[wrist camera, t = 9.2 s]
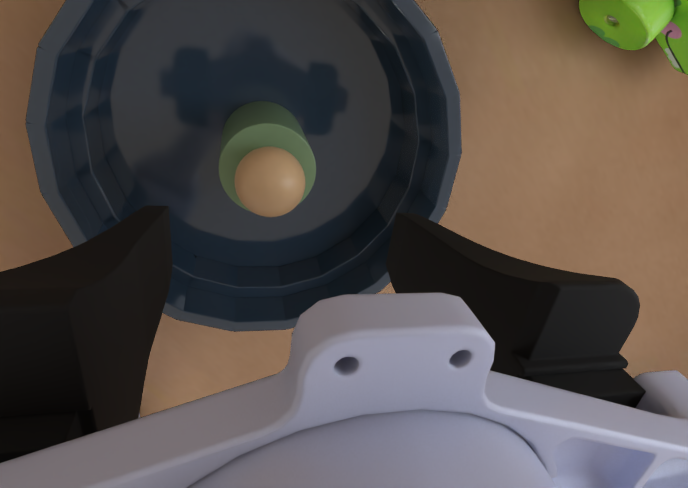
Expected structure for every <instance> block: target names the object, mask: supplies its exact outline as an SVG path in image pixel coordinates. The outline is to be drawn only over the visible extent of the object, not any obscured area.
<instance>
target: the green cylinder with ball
mask: <svg viewBox="0 0 688 488" xmlns="http://www.w3.org/2000/svg"><path fill="white" fill-rule="evenodd" d="M315 176H316V162H315V158H314V155H313V152H312V150H311V147H310V145H309V143H308V141H307V139H306V137H305V135H304V133H303V131H302V128H301V126H300V124H299V123H298V121H297V119H296V118H295V117H294V116H293V114H292V113H291V112H289V111H288V110H287V109H286V108H284V107H282V106H280V105H278V104H276V103H272V102H267V101H256V102H251V103H248V104H245V105H243V106H241V107H239V108H238V109H237V110H235V111H234V112H233V113H232V114H231V115H230V117H229V118H228V119H227V121H226V123H225V126H224V128H223V133H222V140H221V149H220V157H219V177H220V181H221V184H222V186H223V188H224V190H225V192H226V193H227V195H228V196H229V197H230V198H231V199H232V200H233V201H234V202H235V203H236V204H237V205H239V206H240V207H242V208H244V209H246V210H248V211H250V212H253V213H255V214H257V215H260V216H264V217H277V216H281V215H284V214H286V213H288V212H290V211H291V210H293V209H294V208H295V207H296V206H297V205H298V204H300V203H301V202H302V201H303V200H304V199H305V198H306V196H307V195H308V194H309V192H310V191H311V188H312V186H313V184H314V181H315Z"/></svg>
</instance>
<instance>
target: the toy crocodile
mask: <svg viewBox="0 0 688 488" xmlns="http://www.w3.org/2000/svg"><path fill="white" fill-rule="evenodd" d="M579 10H580V13H581V16H582V18H583V19H584V21H585V23H586V24H587V25H588V27H589V28H590V29H591V30H592V31H593V32H594V33H596V34H597V35H598V36H599V37H600V38H601V39H603V40H604V41H606V42H607V43H609V44H611V45H613V46H616V47H619V48H622V49H626V50H638V49H641V48H643V47H645V46H647V45H648V44H649V43H650V42H651V41H652V40H653V39H654V38H656V40H657V41H658V43H659V45H660V46H661V48H662V49H663V51H664V53H665V54H666V56H667V58H668V60H669V61H670V63H671V65H672V66H673V67H674V68H675V69H676V70H677V71H679V72H682V73H685V74H687V75H688V0H579Z"/></svg>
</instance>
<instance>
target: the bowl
mask: <svg viewBox="0 0 688 488" xmlns="http://www.w3.org/2000/svg"><path fill="white" fill-rule="evenodd" d="M256 101H267V102H272V103H276V104H278V105H280V106H282V107H284V108H286V109H287V110H288V111H289V112H291V113H292V114H293V116H294V117H295V118H296V119H297V121H298V123H299V124H300V126H301V128H302V131H303V133H304V135H305V137H306V139H307V141H308V143H309V145H310V147H311V150H312V152H313V155H314V158H315V162H316V176H315V181H314V184H313V186H312V188H311V191H310V192H309V194H308V195H307V196H306V198H305V199H304V200H303V201H302V202H301V203H300V204H298V205H297V206H296V207H295V208H294V209H293V210H291V211H290V212H288V213H286V214H284V215H281V216H277V217H264V216H260V215H257V214H255V213H253V212H250V211H248V210H246V209H244V208H242V207H240V206H239V205H237V204H236V203H235V202H234V201H233V200H232V199H231V198H230V197H229V196H228V195H227V193H226V192H225V190H224V188H223V186H222V184H221V181H220V177H219V157H220V149H221V140H222V133H223V128H224V126H225V123H226V121H227V119H228V118H229V117H230V115H231V114H232V113H233V112H234V111H235V110H237V109H238V108H239V107H241V106H243V105H245V104H248V103H251V102H256ZM26 129H27V133H28V138H29V142H30V147H31V151H32V156H33V160H34V165H35V170H36V174H37V179H38V183H39V188H40V192H41V193H42V196H43V198H44V199H45V201H46V203H47V204H48V206H49V208H50V209H51V211H52V213H53V214H54V216H55V217H56V219H57V221H58V222H59V224H60V226H61V227H62V229H63V231H64V232H65V234H66V235H67V237H68V239H69V240H70V242H71V244H72V245H73V247H75V246H78V245H80V244H82V243H84V242H86V241H88V240H90V239H91V238H93V237H95V236H97V235H99V234H100V233H102V232H104V231H106V230H107V229H109V228H111V227H113V226H114V225H116V224H117V223H119V222H120V221H122V220H124V219H125V218H127V217H128V216H130V215H131V214H133V213H134V212H136V211H137V210H139V209H141V208H142V207H144V206H146V205H151V206H169V219H170V233H171V247H172V261H173V267H172V274H171V281H170V287H169V292H168V296H167V299H166V302H165V306H164V309H163V312H162V313H164V314H166V315H168V316H170V317H172V318H174V319H176V320H180V321H185V322H189V323H194V324H199V325H204V326H209V327H213V328H218V329H223V330H228V331H234V332H236V331H264V330H286V329H291V328H294V327H295V326H296V324H297V322H298V319H299V317H300V315H301V314H302V313H304V312H305V311H306V310H308V309H309V308H310V307H312V306H313V305H314V304H316V303H317V302H318V301H319V300H323V299H328V298H332V297H336V296H340V295H348V294H376V293H378V292H380V291H381V290H382V289H383V288H384V287H386V286H387V285H388V284H389V283H390V282H391V280H390V277H389V274H388V270H387V267H386V260H387V255H388V250H389V245H390V240H391V236H392V231H393V226H394V221H395V216H396V213H414V214H418V215H420V216H423V217H425V218H427V219H429V220H431V221H433V222H435V223H437V224H438V222H439V221H440V219H441V217H442V216H443V214H444V212H445V211H446V208H447V205H448V202H449V198H450V194H451V191H452V187H453V183H454V180H455V176H456V172H457V169H458V165H459V161H460V158H461V154H462V149H461V114H460V93H459V89H458V86H457V83H456V81H455V78H454V75H453V72H452V69H451V66H450V64H449V61H448V58H447V55H446V52H445V49H444V47H443V44H442V41H441V38H440V35H439V32H438V30H437V29H436V27H435V26H434V25H433V24H432V22H431V21H430V20H429V18H428V17H427V16H426V15H425V13H424V12H423V11H422V10H421V8H420V7H419V6H418V4H417V3H416V2H415V1H414V0H65V2H64V4H63V5H62V7H61V8H60V10H59V12H58V13H57V15H56V16H55V18H54V20H53V21H52V23H51V24H50V26H49V27H48V29H47V31H46V32H45V34H44V35H43V37H42V39H41V40H40V42H39V44H38V47H37V50H36V57H35V63H34V69H33V76H32V82H31V88H30V95H29V101H28V107H27V114H26Z"/></svg>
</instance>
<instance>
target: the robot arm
mask: <svg viewBox="0 0 688 488" xmlns="http://www.w3.org/2000/svg"><path fill="white" fill-rule="evenodd" d="M172 267H173V261H172V247H171V233H170V219H169V206H151V205H146V206H144V207H142V208H141V209H139V210H137V211H136V212H134V213H133V214H131V215H130V216H128V217H127V218H125V219H124V220H122V221H120V222H119V223H117V224H116V225H114V226H113V227H111V228H109V229H107V230H106V231H104V232H102V233H100V234H99V235H97V236H95V237H93V238H91V239H90V240H88V241H86V242H84V243H82V244H80V245H78V246H75V247H73V248H71V249H69V250H66V251H64V252H61V253H59V254H57V255H54V256H51V257H48V258H45V259H42V260H39V261H36V262H33V263H30V264H27V265H24V266H21V267H17V268H14V269H10V270H6V271H2V272H0V488H688V379H686V378H685V377H684V376H683V375H682V374H681V373H679V372H678V371H677V370H670V371H657V372H645V373H642V374H639V375H638V376H636V377H634V378H632V377H631V376H630V375H629V374H628V373H627V372H626V371H625V370H623V369H622V368H626V367H627V365H628V362H627V360H626V359H625V358H624V357H622V356H621V355H620V354H619V351H620V350H621V348H622V346H623V344H624V343H625V341H626V339H627V337H628V336H629V334H630V332H631V331H632V329H633V327H634V325H635V323H636V320H637V318H638V314H639V308H640V303H639V298H638V296H637V294H636V293H635V292H634V290H633V289H631V288H630V287H629V286H627V285H626V284H624V283H623V282H622V281H620V280H619V279H616V278H610V277H602V276H595V275H587V274H580V273H574V272H569V271H564V270H559V269H554V268H550V267H545V266H541V265H537V264H534V263H530V262H527V261H523V260H520V259H517V258H513V257H510V256H508V255H505V254H502V253H499V252H497V251H494V250H491V249H489V248H487V247H484V246H482V245H480V244H477V243H475V242H473V241H471V240H469V239H467V238H465V237H463V236H460V235H458V234H457V233H455V232H453V231H451V230H449V229H447V228H445V227H443V226H441V225H439V224H437V223H435V222H433V221H431V220H429V219H427V218H425V217H423V216H420V215H418V214H414V213H396V216H395V221H394V226H393V231H392V236H391V240H390V245H389V250H388V255H387V260H386V267H387V270H388V274H389V277H390V280H391V283H392V286H393V288H394V290H395V292H396V294H348V295H340V296H336V297H332V298H328V299H323V300H319V301H318V302H317V303H316V304H314V305H313V306H312V307H310V308H309V309H308V310H306V311H305V312H304V313H302V314H301V315H300V317H299V319H298V322H297V324H296V326H295V328H294V331H293V333H292V340H291V350H290V357H289V361H288V364H287V365H286V367H285V369H283V370H282V371H281V372H279V373H278V374H274V375H271V376H268V377H265V378H262V379H259V380H256V381H253V382H250V383H247V384H243V385H240V386H237V387H234V388H231V389H228V390H225V391H222V392H219V393H216V394H213V395H209V396H206V397H203V398H200V399H197V400H194V401H191V402H188V403H185V404H182V405H178V406H175V407H172V408H169V409H166V410H163V411H160V412H157V413H154V414H151V415H148V416H144V417H141V418H140V413H139V411H140V405H141V398H142V392H143V386H144V381H145V375H146V370H147V364H148V359H149V355H150V351H151V347H152V344H153V341H154V338H155V334H156V331H157V328H158V325H159V322H160V319H161V315H162V312H163V309H164V306H165V302H166V299H167V296H168V292H169V287H170V281H171V274H172Z"/></svg>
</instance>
